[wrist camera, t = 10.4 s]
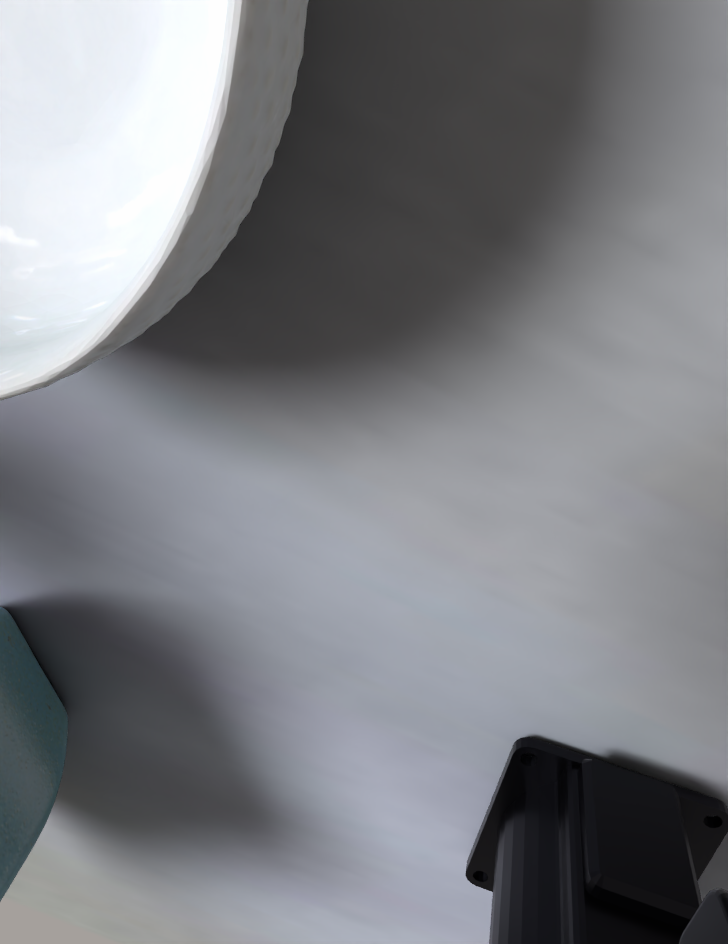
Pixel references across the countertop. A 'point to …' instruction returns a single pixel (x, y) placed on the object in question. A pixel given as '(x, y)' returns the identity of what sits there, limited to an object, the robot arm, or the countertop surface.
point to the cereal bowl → (127, 162)
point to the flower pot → (26, 749)
